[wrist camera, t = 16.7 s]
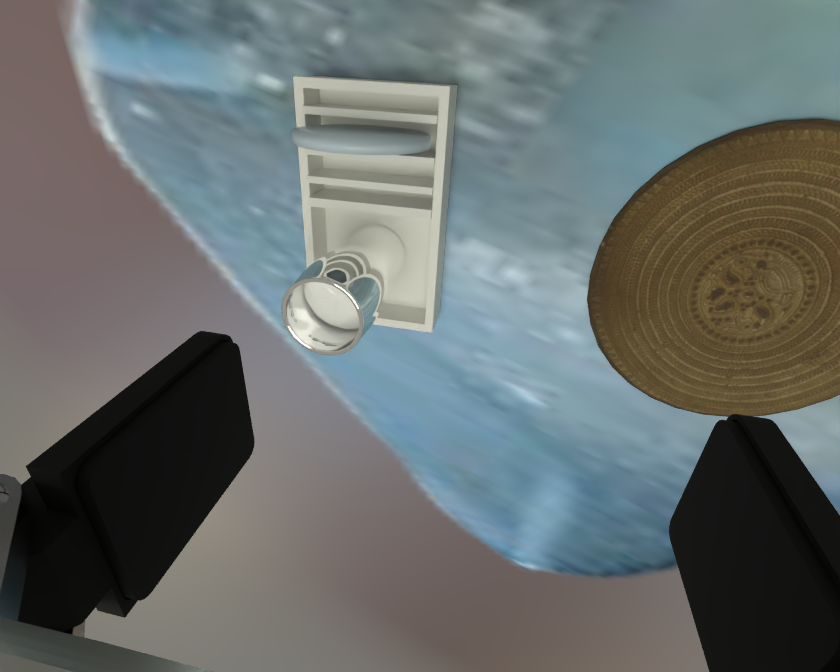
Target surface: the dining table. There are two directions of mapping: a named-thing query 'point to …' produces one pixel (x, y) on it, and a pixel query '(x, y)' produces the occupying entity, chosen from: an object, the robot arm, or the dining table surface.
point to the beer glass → (343, 291)
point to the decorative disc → (729, 275)
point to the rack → (379, 178)
